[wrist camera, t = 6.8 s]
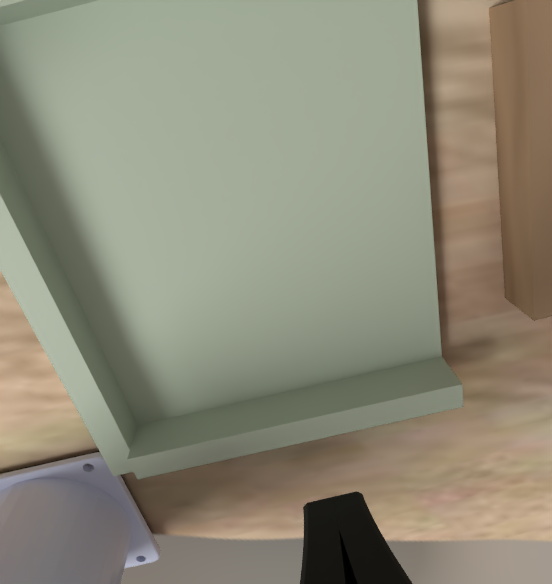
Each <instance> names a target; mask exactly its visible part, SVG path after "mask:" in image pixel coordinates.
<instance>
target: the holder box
mask: <svg viewBox="0 0 552 584" xmlns="http://www.w3.org/2000/svg"><path fill="white" fill-rule="evenodd" d="M0 270H1V272H2V274H3V276H4V278H5V280H6V281H7V283H8V285H9V287H10V289H11V291H12V292H13V294H14V296H15V298H16V300H17V301H18V303H19V305H20V307H21V309H22V311H23V312H24V314H25V316H26V318H27V320H28V322H29V323H30V325H31V327H32V329H33V331H34V332H35V334H36V336H37V338H38V340H39V342H40V343H41V345H42V347H43V349H44V351H45V352H46V354H47V356H48V358H49V360H50V362H51V363H52V365H53V367H54V369H55V371H56V373H57V374H58V376H59V378H60V380H61V382H62V383H63V385H64V387H65V389H66V391H67V393H68V394H69V396H70V398H71V400H72V402H73V404H74V405H75V407H76V409H77V411H78V413H79V414H80V416H81V418H82V420H83V422H84V424H85V425H86V427H87V429H88V431H89V433H90V435H91V436H92V438H93V440H94V442H95V444H96V445H97V447H98V449H99V451H100V453H101V455H102V456H103V458H104V460H105V462H106V464H107V465H108V467H109V469H110V471H111V473H112V475H113V476H117V475H121V474H126V473H130V472H134V474H135V476H136V478H137V480H138V479H143V478H147V477H152V476H156V475H161V474H165V473H170V472H174V471H179V470H183V469H188V468H192V467H197V466H201V465H205V464H210V463H214V462H219V461H223V460H228V459H232V458H237V457H241V456H246V455H250V454H255V453H259V452H264V451H268V450H273V449H277V448H282V447H286V446H291V445H295V444H300V443H304V442H309V441H313V440H317V439H322V438H326V437H331V436H335V435H340V434H344V433H349V432H353V431H358V430H362V429H367V428H371V427H376V426H380V425H385V424H389V423H394V422H398V421H403V420H407V419H412V418H416V417H421V416H425V415H429V414H434V413H438V412H443V411H447V410H452V409H456V408H461V407H463V387H462V383H461V382H460V380H459V379H458V378H457V376H456V375H455V373H454V372H453V371H452V369H451V368H450V367H449V365H448V364H447V363H446V361H445V360H444V358H443V357H442V350H441V336H440V321H439V307H438V293H437V278H436V264H435V249H434V235H433V221H432V206H431V192H430V177H429V163H428V149H427V134H426V120H425V106H424V91H423V77H422V62H421V48H420V34H419V19H418V5H417V0H0Z"/></svg>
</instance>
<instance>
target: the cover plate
mask: <svg viewBox="0 0 552 584" xmlns="http://www.w3.org/2000/svg"><path fill="white" fill-rule="evenodd" d="M489 16H490V34H491V53H492V71H493V89H494V107H495V125H496V143H497V161H498V179H499V197H500V215H501V233H502V252H503V270H504V288H505V298H506V299H508V300H509V301H510V302H511V303H513V304H514V305H515V306H516V307H518V308H519V309H520V310H521V311H522V312H524V313H525V314H526V315H527V316H529V317H530V318H531V319H532V320H534V321H535V320H538V319H542V318H546V317H549V316H552V0H513V1H510V2H507V3H504V4H501V5H498V6H494V7H491V8H489Z"/></svg>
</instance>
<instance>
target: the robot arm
mask: <svg viewBox="0 0 552 584" xmlns="http://www.w3.org/2000/svg"><path fill="white" fill-rule="evenodd" d="M88 464H91V465H88ZM303 509H304V547H303V560H302V571H301V580H300V584H412V582H411V581H410V579H409V578H408V576H407V575H406V573H405V572H404V570H403V568H402V567H401V565H400V564H399V562H398V561H397V559H396V558H395V556H394V555H393V553H392V552H391V550H390V548H389V546H388V545H387V543H386V541H385V539H384V537H383V536H382V534H381V532H380V531H379V529H378V527H377V525H376V523H375V521H374V519H373V517H372V515H371V513H370V511H369V509H368V507H367V505H366V502H365V500H364V497H363V495H362V494H361V493H359V492H353V493H348V494H344V495H340V496H335V497H331V498H327V499H322V500H318V501H313V502H309V503H307V504H306V505H305V506H304V507H303ZM159 556H160V548H159V546H158V544H157V542H156V541H155V539H154V537H153V535H152V533H151V531H150V529H149V527H148V526H147V524H146V522H145V520H144V518H143V516H142V514H141V513H140V511H139V509H138V507H137V505H136V503H135V501H134V500H133V498H132V496H131V494H130V492H129V490H128V488H127V487H126V485H125V483H124V481H123V479H122V477H121V475H117V476H113V475H112V473H111V471H110V469H109V467H108V465H107V464H106V462H105V460H104V458H103V456H102V455H101V453H100V452H96V453H91V454H87V455H82V456H78V457H74V458H69V459H65V460H60V461H56V462H51V463H47V464H43V465H38V466H34V467H29V468H25V469H20V470H16V471H12V472H7V473H3V474H0V584H121V580H122V575H123V572H124V568H127V567H132V566H137V565H141V564H145V563H150V562H154V561H156V560H158V559H159Z"/></svg>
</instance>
